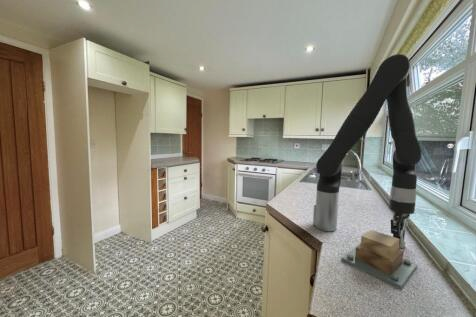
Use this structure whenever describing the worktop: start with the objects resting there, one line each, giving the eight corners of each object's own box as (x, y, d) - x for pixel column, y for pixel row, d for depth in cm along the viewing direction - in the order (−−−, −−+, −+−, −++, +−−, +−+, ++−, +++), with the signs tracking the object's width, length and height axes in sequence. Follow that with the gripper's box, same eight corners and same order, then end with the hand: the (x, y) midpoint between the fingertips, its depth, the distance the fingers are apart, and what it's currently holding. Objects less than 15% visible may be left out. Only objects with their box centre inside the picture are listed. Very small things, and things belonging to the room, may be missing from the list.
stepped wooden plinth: (355, 258, 66) (356, 235, 65) (367, 249, 72) (369, 227, 71) (391, 275, 58) (394, 249, 57) (402, 263, 64) (404, 239, 63)
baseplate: (341, 260, 67) (341, 255, 67) (361, 245, 76) (362, 241, 76) (400, 289, 54) (401, 283, 54) (416, 267, 64) (417, 262, 63)
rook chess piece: (390, 241, 80) (392, 221, 79) (405, 244, 77) (407, 225, 77) (390, 245, 77) (392, 225, 76) (405, 249, 74) (407, 228, 73)
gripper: (396, 193, 83) (392, 233, 84) (383, 199, 74) (379, 243, 76) (420, 198, 77) (415, 240, 78) (409, 205, 68) (404, 252, 70)
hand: (398, 242), depth 77 cm, fingers closed on rook chess piece, 4 cm apart
